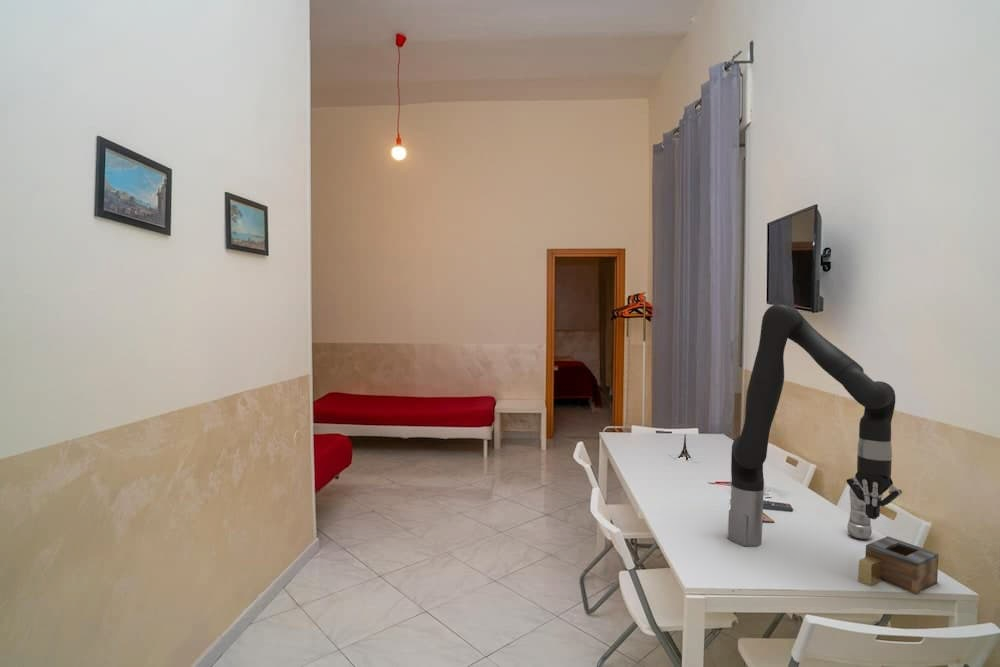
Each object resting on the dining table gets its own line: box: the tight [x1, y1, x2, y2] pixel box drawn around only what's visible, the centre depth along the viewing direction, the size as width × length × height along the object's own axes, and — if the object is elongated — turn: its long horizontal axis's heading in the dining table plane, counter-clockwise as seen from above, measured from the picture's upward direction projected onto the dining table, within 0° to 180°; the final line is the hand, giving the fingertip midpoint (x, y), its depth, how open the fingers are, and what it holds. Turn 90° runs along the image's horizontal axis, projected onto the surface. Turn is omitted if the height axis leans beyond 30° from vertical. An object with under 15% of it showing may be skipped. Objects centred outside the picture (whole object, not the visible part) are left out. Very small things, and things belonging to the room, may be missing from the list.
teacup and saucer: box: [763, 484, 771, 496], centre depth 205 cm, size 9×8×4 cm
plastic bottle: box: [847, 484, 873, 540], centre depth 166 cm, size 6×7×20 cm
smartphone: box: [762, 512, 775, 524], centre depth 184 cm, size 8×1×15 cm
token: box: [857, 556, 881, 588], centre depth 139 cm, size 5×3×6 cm, turn 119°
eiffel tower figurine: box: [677, 434, 692, 461], centre depth 254 cm, size 15×10×13 cm
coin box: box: [864, 536, 940, 595], centre depth 141 cm, size 12×12×8 cm
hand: (872, 518), depth 140 cm, fingers closed
